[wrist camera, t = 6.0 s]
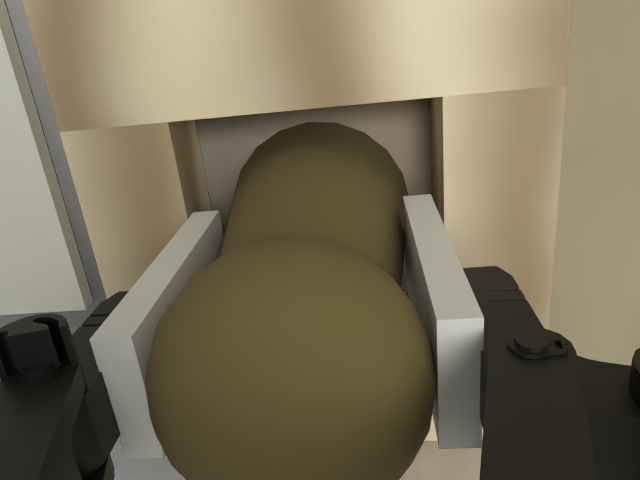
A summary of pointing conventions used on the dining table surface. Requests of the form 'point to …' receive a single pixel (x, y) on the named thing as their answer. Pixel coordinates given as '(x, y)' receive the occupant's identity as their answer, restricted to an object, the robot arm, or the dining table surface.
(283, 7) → the socket block
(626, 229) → the dining table surface
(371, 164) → the olive peg figure
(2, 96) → the rubber mat
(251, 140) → the dining table surface
